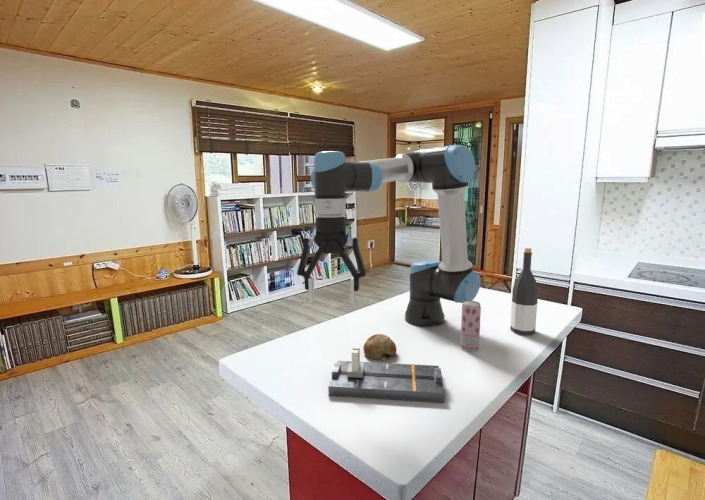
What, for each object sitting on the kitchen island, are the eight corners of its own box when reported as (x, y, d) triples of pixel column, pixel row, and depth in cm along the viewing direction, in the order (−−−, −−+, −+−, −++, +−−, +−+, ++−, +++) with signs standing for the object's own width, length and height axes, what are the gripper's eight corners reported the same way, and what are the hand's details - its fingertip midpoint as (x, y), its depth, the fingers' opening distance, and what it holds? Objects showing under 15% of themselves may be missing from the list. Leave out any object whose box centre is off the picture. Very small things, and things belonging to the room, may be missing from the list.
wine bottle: (523, 337, 127) (529, 250, 123) (505, 329, 135) (510, 247, 130) (540, 333, 130) (546, 248, 126) (521, 325, 138) (527, 245, 133)
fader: (347, 376, 96) (346, 352, 95) (349, 367, 100) (349, 344, 99) (362, 377, 95) (362, 353, 94) (364, 368, 100) (364, 345, 99)
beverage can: (459, 350, 117) (461, 304, 115) (461, 343, 122) (462, 299, 120) (478, 353, 115) (480, 306, 113) (479, 346, 120) (481, 301, 118)
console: (328, 395, 92) (328, 380, 92) (338, 368, 106) (337, 355, 105) (444, 402, 88) (444, 387, 88) (438, 374, 102) (438, 360, 102)
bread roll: (370, 372, 111) (376, 354, 107) (355, 347, 119) (360, 329, 115) (397, 365, 116) (404, 347, 112) (382, 341, 123) (387, 323, 119)
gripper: (281, 217, 90) (285, 305, 93) (375, 217, 87) (375, 308, 90) (290, 215, 97) (293, 297, 101) (377, 214, 94) (377, 299, 98)
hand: (332, 302), depth 96 cm, fingers open, 10 cm apart
